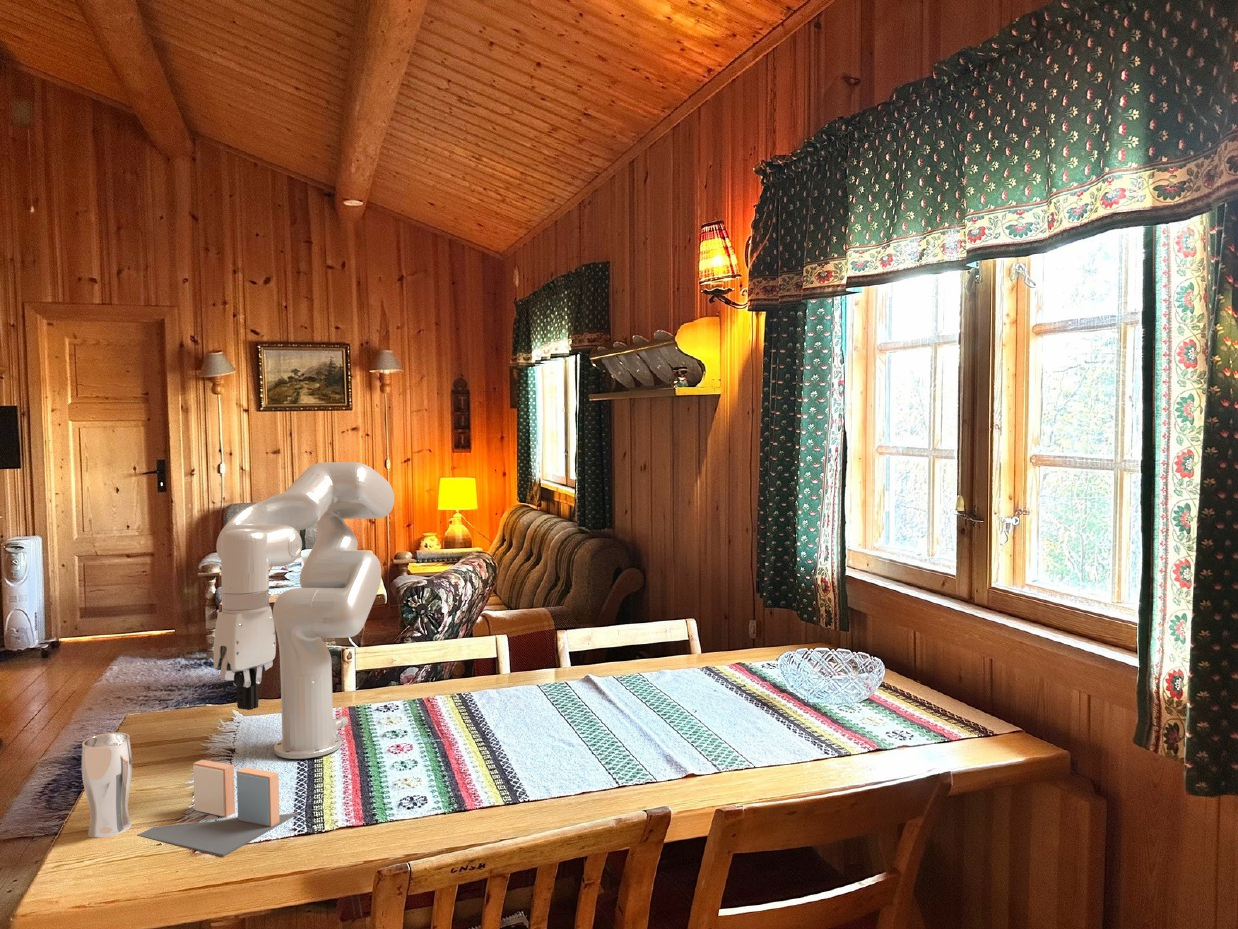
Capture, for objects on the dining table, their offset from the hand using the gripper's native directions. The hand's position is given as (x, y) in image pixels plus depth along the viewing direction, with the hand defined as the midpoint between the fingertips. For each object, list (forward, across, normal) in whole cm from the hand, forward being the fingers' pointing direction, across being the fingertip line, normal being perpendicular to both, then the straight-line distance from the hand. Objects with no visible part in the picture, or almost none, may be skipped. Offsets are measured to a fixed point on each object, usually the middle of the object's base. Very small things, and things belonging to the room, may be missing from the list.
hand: (247, 708), depth 159 cm
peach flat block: (+15, +7, +9) cm, 19 cm away
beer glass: (+16, +18, -11) cm, 27 cm away
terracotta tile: (+15, +7, 0) cm, 17 cm away
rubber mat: (+16, +9, +4) cm, 19 cm away
